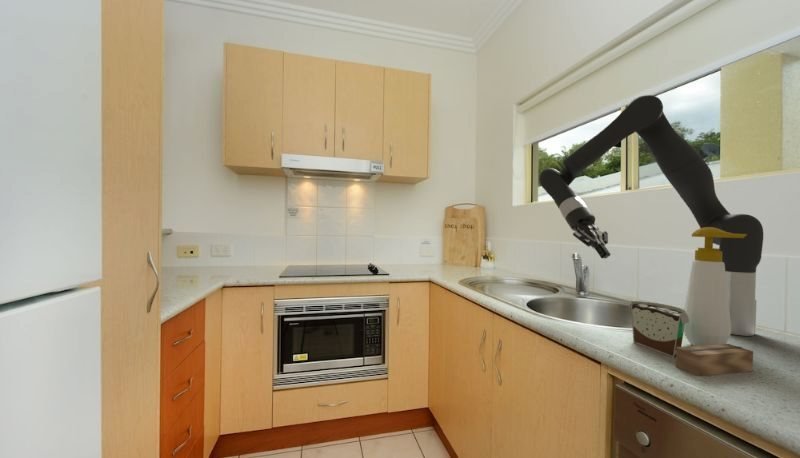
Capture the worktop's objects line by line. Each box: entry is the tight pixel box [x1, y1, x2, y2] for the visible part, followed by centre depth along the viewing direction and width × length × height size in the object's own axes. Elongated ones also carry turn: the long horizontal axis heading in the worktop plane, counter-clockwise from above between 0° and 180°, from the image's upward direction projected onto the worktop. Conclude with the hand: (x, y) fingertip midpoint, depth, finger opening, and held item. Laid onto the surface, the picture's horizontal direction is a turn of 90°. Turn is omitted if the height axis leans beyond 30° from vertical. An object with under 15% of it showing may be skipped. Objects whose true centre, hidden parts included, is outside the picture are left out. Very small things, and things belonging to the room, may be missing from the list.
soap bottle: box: [683, 227, 747, 346], centre depth 74 cm, size 13×10×29 cm
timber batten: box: [675, 343, 754, 377], centre depth 63 cm, size 14×4×4 cm, turn 102°
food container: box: [628, 300, 689, 359], centre depth 74 cm, size 12×6×10 cm, turn 13°
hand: (606, 256), depth 92 cm, fingers closed
